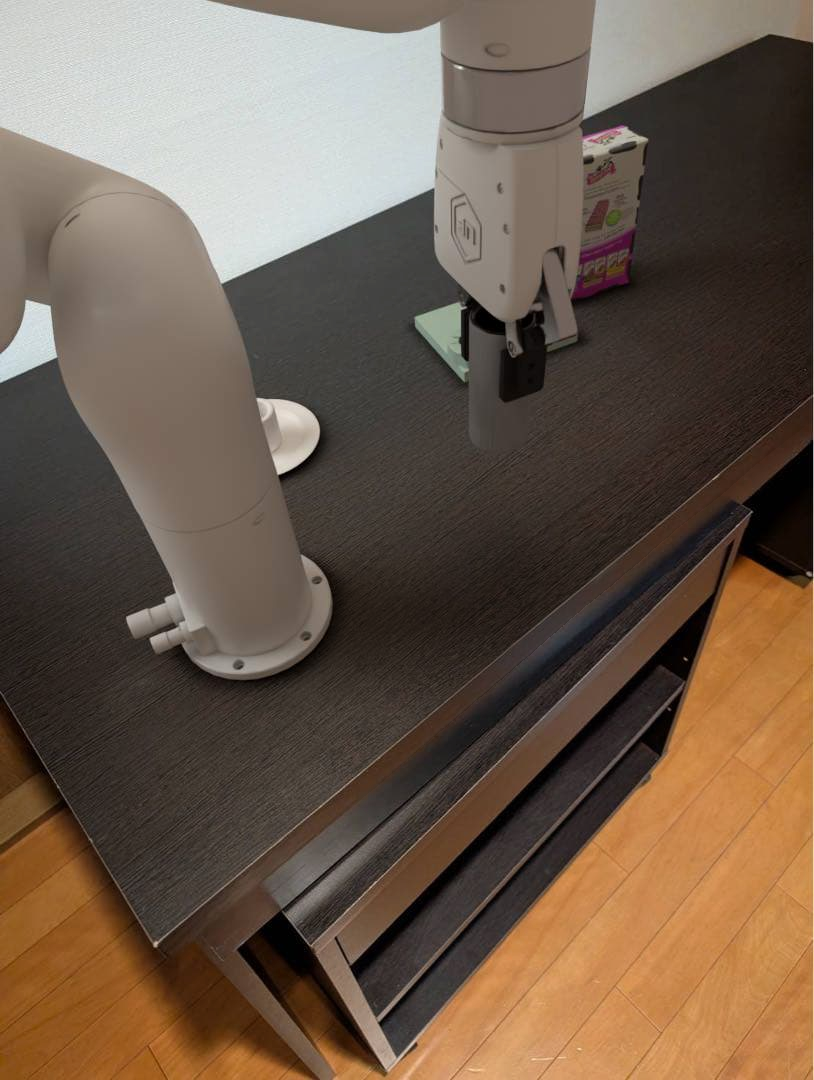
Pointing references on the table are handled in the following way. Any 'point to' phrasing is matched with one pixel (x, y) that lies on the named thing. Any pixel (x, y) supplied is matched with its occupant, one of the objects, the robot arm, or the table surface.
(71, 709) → the table surface
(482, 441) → the planter
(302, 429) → the candle holder
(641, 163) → the candy bar box
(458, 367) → the pale green base plate
